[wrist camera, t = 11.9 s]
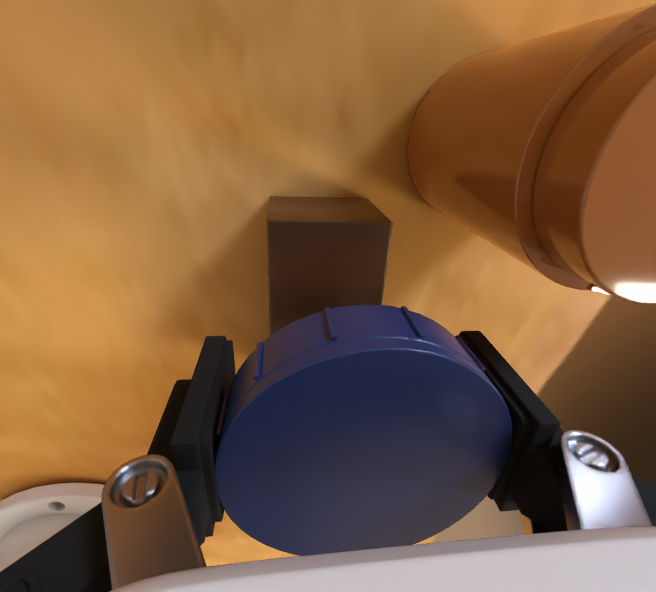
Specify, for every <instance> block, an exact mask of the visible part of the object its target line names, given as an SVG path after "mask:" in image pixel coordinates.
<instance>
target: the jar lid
mask: <svg viewBox="0 0 656 592" xmlns="http://www.w3.org/2000/svg"><path fill="white" fill-rule="evenodd" d="M485 370H486V369H485V368H484V366H483V365H482V364H481V363H480V362H479V360H478V359H477V358H476V357H475V355H474V354H473V353H472V352H471V350H470V349H469V348H468V347H467V346H466V344H465V343H464V342H463V341H462V339H461V338H460V337H457V338H455V337H454V336H453V335H452V334H451V333H450V332H449V331H448V330H447V329H446V328H444V327H443V326H441V325H440V324H438V323H437V322H435V321H433V320H431V319H429V318H427V317H425V316H423V315H421V314H418V313H415V312H412V311H409V310H408V309H407V308H406V307H404V306H402V308H397V307H392V306H385V305H366V304H365V305H351V306H343V307H335V308H332V309H330V308H329V307H327V308H325V310H324V311H321V312H318V313H314V314H311V315H308V316H306V317H304V318H302V319H299V320H297V321H295V322H292V323H291V324H289V325H287V326H285V327H284V328H282V329H281V330H279V331H277V332H276V333H274V334H273V335H272V336H270V337H269V338H268V339H267V340H265V341H264V342H263V343H261V342H259V343H258V344H257V348H256V349H255V350H254V351H253V352H252V353H251V354H250V355H249V357H248V358H247V359H246V360H245V362H244V363H243V365H242V366H241V367H240V369H239V370H238V372H237V374H236V376H235V378H234V380H233V382H232V384H231V387H230V390H229V393H228V396H227V395H225V396H224V401H223V406H222V410H221V415H220V420H219V424H218V429H217V434H216V435H217V438H219V441H218V445H217V450H216V455H215V462H214V468H215V476H216V484H217V491H218V497H219V500H220V503H221V505H222V507H223V509H224V510H225V512H226V513H227V514H228V516H229V517H230V519H231V520H232V521H233V522H234V523H235V524H236V525H237V526H238V527H239V528H240V529H241V530H243V531H244V532H245V533H247V534H248V535H249V536H251V537H252V538H254V539H256V540H257V541H259V542H261V543H263V544H265V545H267V546H270V547H272V548H275V549H277V550H280V551H283V552H287V553H290V554H294V555H300V556H306V555H316V554H326V553H336V552H346V551H356V550H366V549H376V548H386V547H397V546H407V545H413V544H416V543H418V542H421V541H423V540H425V539H427V538H429V537H432V536H434V535H436V534H438V533H439V532H441V531H443V530H445V529H446V528H448V527H450V526H451V525H453V524H454V523H456V522H457V521H459V520H460V519H462V518H463V517H464V516H465V515H467V514H468V513H469V512H470V511H471V510H473V509H474V508H475V507H476V506H477V505H478V504H479V503H480V502H481V501H482V500H483V499H484V498H485V497H486V496H487V494H488V493H489V492H490V491H491V490H492V488H493V487H494V486H495V484H496V483H497V481H498V479H499V478H500V476H501V473H502V471H503V469H504V466H505V463H506V461H507V458H508V455H509V453H510V450H511V445H512V437H513V435H512V422H511V418H510V414H509V410H508V408H507V405H506V403H505V401H504V399H503V397H502V396H501V394H500V393H499V392H498V390H497V389H496V388H495V386H494V385H493V384H492V382H491V381H490V380H489V379H488V377H487V376H486V375H485V374H484V372H483V371H485Z"/></svg>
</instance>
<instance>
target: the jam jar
mask: <svg viewBox="0 0 656 592" xmlns="http://www.w3.org/2000/svg"><path fill="white" fill-rule="evenodd" d="M408 164H409V170H410V174H411V177H412V181H413V183H414V185H415V187H416V189H417V191H418V192H419V194H420V195H421V197H422V198H423V199H424V200H425V201H426V202H427V203H428V204H429V205H430V206H431V207H433V208H434V209H436V210H437V211H439V212H440V213H442V214H444V215H445V216H447V217H449V218H450V219H452V220H454V221H455V222H457V223H458V224H460V225H462V226H463V227H465V228H467V229H468V230H470V231H472V232H473V233H475V234H476V235H478V236H480V237H481V238H483V239H485V240H486V241H488V242H490V243H491V244H493V245H494V246H496V247H498V248H499V249H501V250H503V251H504V252H506V253H508V254H509V255H511V256H512V257H514V258H516V259H517V260H519V261H521V262H522V263H524V264H526V265H527V266H529V267H530V268H532V269H534V270H535V271H537V272H539V273H540V274H542V275H544V276H545V277H547V278H549V279H550V280H552V281H554V282H555V283H558V284H560V285H563V286H566V287H569V288H574V289H579V290H592V291H595V292H599V293H602V294H606V295H610V296H613V297H615V298H619V299H621V300H624V301H628V302H633V303H639V304H656V3H654V4H650V5H647V6H644V7H640V8H637V9H633V10H630V11H627V12H623V13H620V14H616V15H613V16H610V17H606V18H603V19H599V20H596V21H593V22H589V23H586V24H582V25H579V26H576V27H572V28H569V29H565V30H562V31H559V32H555V33H552V34H548V35H545V36H542V37H538V38H535V39H531V40H528V41H525V42H521V43H518V44H514V45H511V46H508V47H504V48H501V49H497V50H494V51H491V52H487V53H484V54H480V55H477V56H474V57H471V58H469V59H467V60H465V61H463V62H461V63H459V64H457V65H456V66H454V67H453V68H451V69H450V70H449V71H447V72H446V73H445V74H444V75H443V76H442V77H440V78H439V80H438V81H437V82H436V83H435V84H434V85H433V86H432V87H431V89H430V90H429V91H428V93H427V94H426V96H425V97H424V99H423V101H422V102H421V104H420V106H419V108H418V110H417V112H416V115H415V117H414V120H413V123H412V126H411V130H410V135H409V140H408Z"/></svg>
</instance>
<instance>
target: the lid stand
mask: <svg viewBox="0 0 656 592" xmlns="http://www.w3.org/2000/svg"><path fill="white" fill-rule="evenodd" d="M391 230H392V222H391V221H390V220H389V219H388V218H387V217H386V216H385V215H384V214H383V213H382V212H381V211H380V210H379V209H378V208H377V207H376V206H375V205H374V204H372V203H371V202H370V201H369V200H368V199H359V198H318V197H277V196H271V197H270V199H269V208H268V217H267V240H268V275H269V309H270V336H272V335H273V334H274V333H276V332H277V331H279V330H281V329H282V328H284V327H285V326H287V325H289V324H291V323H292V322H295V321H297V320H299V319H302V318H304V317H306V316H308V315H311V314H314V313H318V312H321V311H324V310H325V308H327V307H329V308H330V309H332V308H335V307H343V306H351V305H365V304H366V305H382V298H383V291H384V283H385V276H386V268H387V261H388V253H389V246H390V238H391Z"/></svg>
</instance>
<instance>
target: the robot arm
mask: <svg viewBox="0 0 656 592" xmlns="http://www.w3.org/2000/svg"><path fill="white" fill-rule="evenodd" d="M457 337H460V338H461V339H462V341H463V342H464V343H465V344H466V346H467V347H468V348H469V349H470V350H471V352H472V353H473V354H474V355H475V357H476V358H477V359H478V360H479V362H480V363H481V364H482V365H483V366H484V368H485V369H486V370H485V371H483V372H484V374H485V375H486V376H487V377H488V379H489V380H490V381H491V382H492V384H493V385H494V386H495V388H496V389H497V390H498V392H499V393H500V394H501V396H502V397H503V399H504V401H505V403H506V405H507V408H508V410H509V414H510V418H511V422H512V435H513V437H512V445H511V450H510V453H509V455H508V458H507V461H506V463H505V466H504V469H503V471H502V473H501V476H500V478H499V479H498V481H497V483H496V484H495V486H494V487H493V488H492V490H491V491H490V492H489V493H488V494H487V495H488V497H489V498H490V499H494V500H495V503H496V504H497V506H498V508H499V510H500V511H511V510H518V509H519V510H520V512H521V514H522V515H523V518H524V519H523V520H524V529H525V535H515V536H503V537H492V538H482V539H471V540H460V541H449V542H439V543H428V544H418V545H407V546H397V547H386V548H376V549H366V550H356V551H346V552H336V553H326V554H316V555H306V556H296V557H286V558H276V559H267V560H259V561H251V562H242V563H234V564H226V565H217V566H209V567H207V566H206V563H205V560H204V557H203V554H202V551H201V548H200V546H201V545H202V544H203V543H204V541H205V537H208V536H213V531H214V525H215V522H220V521H222V519H223V514H224V509H223V507H222V505H221V503H220V500H219V497H218V491H217V484H216V476H215V468H214V462H215V455H216V450H217V445H218V441H219V438H217V435H216V434H217V429H218V424H219V420H220V415H221V410H222V406H223V401H224V396H225V395H227V396H228V393H229V390H230V387H231V384H232V382H233V380H234V378H235V376H236V373H235V362H234V351H233V342H232V340H226V337H225V336H207V337H206V338H205V341H204V344H203V347H202V350H201V353H200V356H199V359H198V362H197V365H196V368H195V371H194V374H193V377H192V379H191V380H178V381H176V383H175V385H174V387H173V390H172V392H171V395H170V398H169V400H168V403H167V405H166V408H165V410H164V413H163V415H162V418H161V421H160V423H159V426H158V428H157V431H156V433H155V436H154V438H153V441H152V443H151V446H150V449H149V451H148V454H147V455H143V456H140V457H137V458H134V459H132V460H130V461H128V462H126V463H124V464H123V465H121V466H120V467H119V468H118V469H117V470H115V471H114V472H113V473H112V475H111V476H110V477H109V478H108V480H107V481H106V483H105V485H103V484H93V483H57V484H51V485H45V486H39V487H34V488H31V489H28V490H25V491H21V492H18V493H15V494H13V495H11V496H9V497H7V498H5V499H3V500H1V501H0V592H656V485H654V484H652V483H650V482H648V481H646V480H643V479H641V478H639V477H637V476H635V475H633V474H631V473H630V470H629V468H628V465H627V463H626V461H625V460H624V458H623V456H622V455H621V454H620V453H619V452H618V451H617V450H616V448H614V447H613V446H612V445H611V444H609V443H608V442H607V441H605V440H603V439H601V438H600V437H598V436H596V435H593V434H591V433H587V432H583V431H579V430H571V431H570V430H569V431H567V432H565V433H564V432H563V431H562V429H561V428H560V427H559V425H560V422H559V421H558V419H557V418H556V417H555V416H554V415H553V414H552V413H551V411H550V410H549V409H548V408H547V407H546V406H545V405H544V403H543V402H542V401H541V400H540V399H539V398H538V397H537V395H536V394H535V393H534V392H533V391H532V390H531V389H530V387H529V386H528V385H527V384H526V383H525V382H524V381H523V379H522V378H521V377H520V376H519V375H518V374H517V373H516V372H515V370H514V369H513V368H512V367H511V366H510V365H509V364H508V362H507V361H506V360H505V359H504V358H503V357H502V356H501V354H500V353H499V352H498V351H497V350H496V349H495V348H494V346H493V345H492V344H491V343H490V342H489V341H488V340H487V338H486V337H485V336H484V335H483V334H482V333H481V332H480V331H462V332H460V334H459V336H455V338H457Z"/></svg>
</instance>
